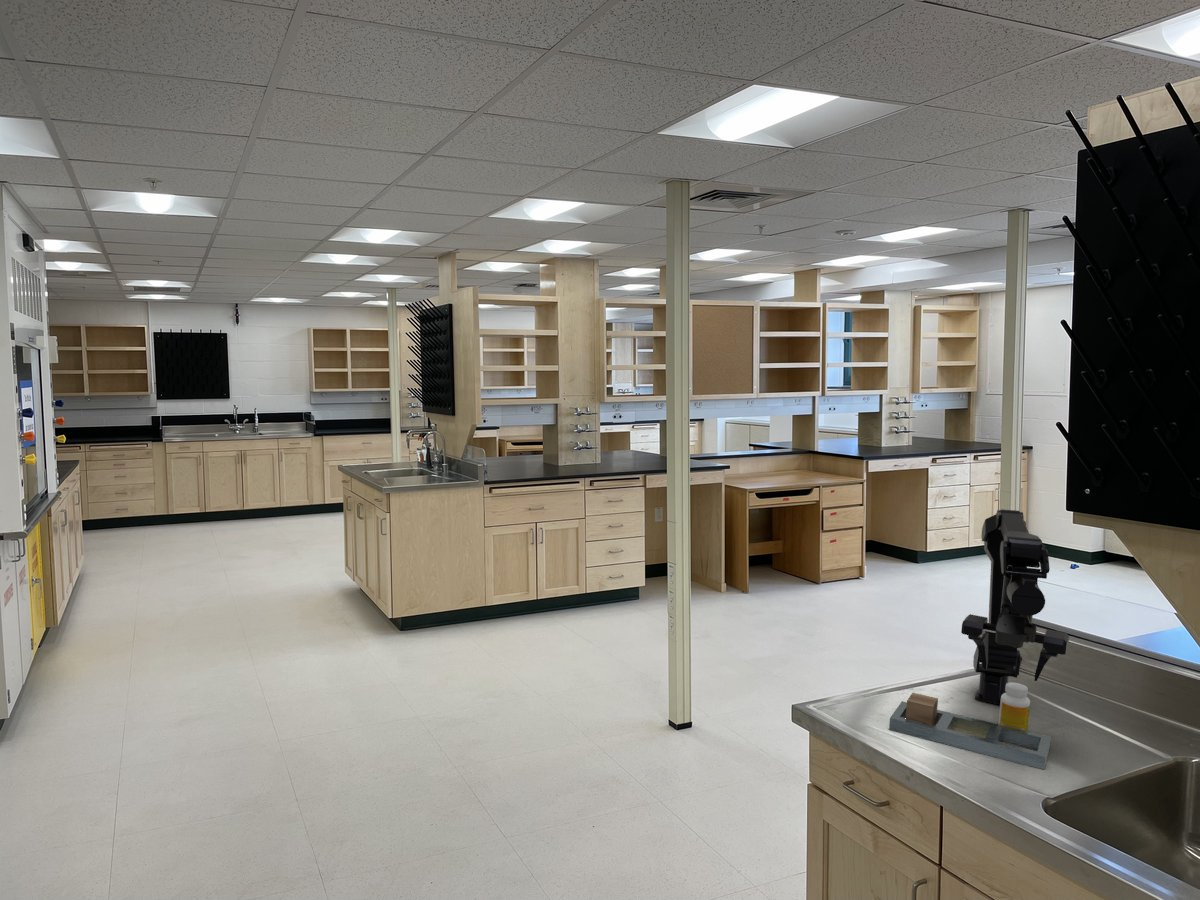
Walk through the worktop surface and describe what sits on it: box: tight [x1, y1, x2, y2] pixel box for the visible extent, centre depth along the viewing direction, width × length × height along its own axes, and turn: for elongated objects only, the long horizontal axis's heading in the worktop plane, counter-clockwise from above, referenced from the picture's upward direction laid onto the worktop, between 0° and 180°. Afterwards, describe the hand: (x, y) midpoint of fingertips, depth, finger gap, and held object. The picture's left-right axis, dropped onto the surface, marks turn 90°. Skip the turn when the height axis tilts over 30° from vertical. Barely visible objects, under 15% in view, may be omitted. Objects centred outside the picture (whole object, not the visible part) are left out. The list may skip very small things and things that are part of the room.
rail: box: [888, 700, 1052, 770], centre depth 170 cm, size 10×28×2 cm, turn 58°
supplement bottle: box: [997, 682, 1031, 732], centre depth 174 cm, size 5×5×10 cm
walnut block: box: [906, 692, 939, 726], centre depth 175 cm, size 5×5×6 cm
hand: (1010, 674), depth 172 cm, fingers open, 9 cm apart
